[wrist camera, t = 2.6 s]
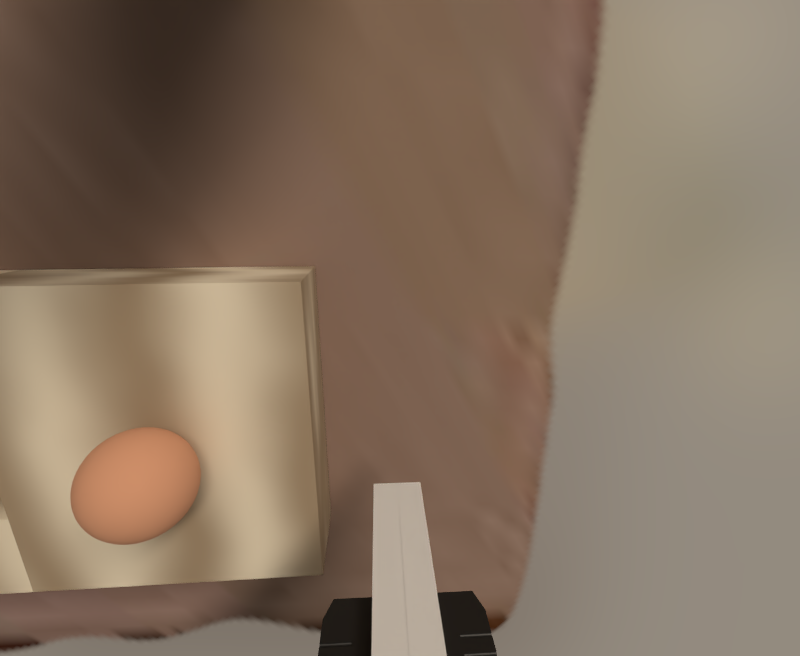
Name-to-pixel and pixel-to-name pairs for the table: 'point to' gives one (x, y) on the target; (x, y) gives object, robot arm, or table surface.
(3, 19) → the table surface
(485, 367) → the table surface
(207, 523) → the block
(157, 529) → the ball
